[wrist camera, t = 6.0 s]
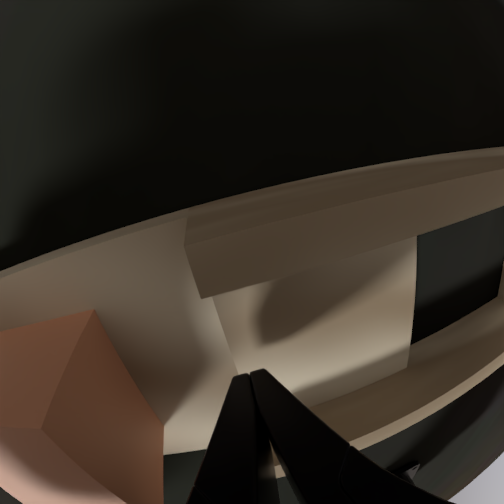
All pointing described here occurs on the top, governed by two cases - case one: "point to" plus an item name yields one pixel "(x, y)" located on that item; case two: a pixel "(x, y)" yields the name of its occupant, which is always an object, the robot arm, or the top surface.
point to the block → (74, 418)
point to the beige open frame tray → (283, 297)
